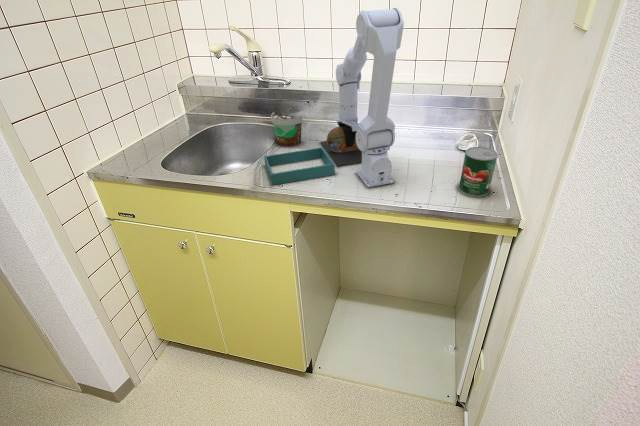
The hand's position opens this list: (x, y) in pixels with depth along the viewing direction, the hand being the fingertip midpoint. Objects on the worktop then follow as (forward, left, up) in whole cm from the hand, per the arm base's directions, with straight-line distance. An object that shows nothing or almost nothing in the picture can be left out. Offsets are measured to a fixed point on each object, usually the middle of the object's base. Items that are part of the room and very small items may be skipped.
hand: (348, 144), depth 127 cm
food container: (+14, +19, -3) cm, 24 cm away
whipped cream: (-12, -38, -3) cm, 40 cm away
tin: (0, 0, -2) cm, 2 cm away
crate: (-8, +19, -2) cm, 21 cm away
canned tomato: (-36, -24, -3) cm, 43 cm away
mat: (0, -1, -2) cm, 3 cm away
